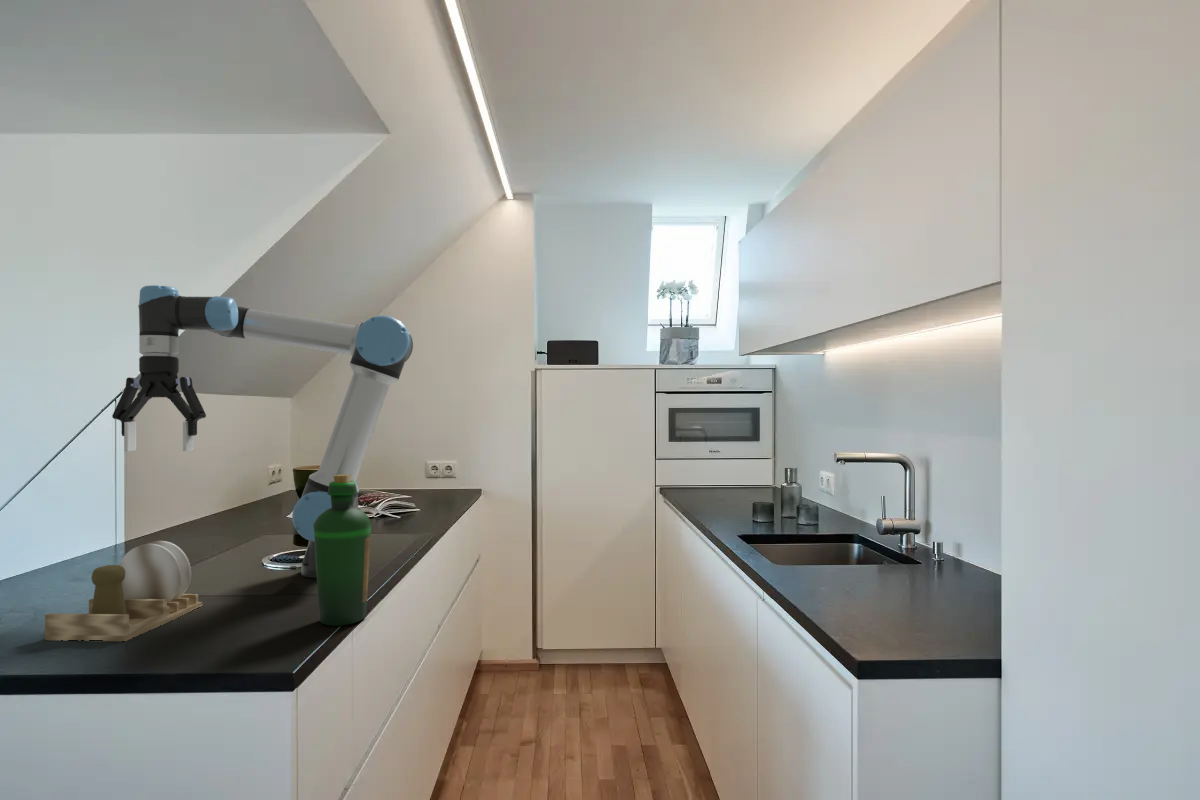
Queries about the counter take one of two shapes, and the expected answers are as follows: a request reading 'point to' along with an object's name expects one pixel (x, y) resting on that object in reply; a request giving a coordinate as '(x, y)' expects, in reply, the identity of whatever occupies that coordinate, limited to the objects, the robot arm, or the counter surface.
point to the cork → (108, 590)
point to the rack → (135, 598)
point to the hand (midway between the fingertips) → (159, 451)
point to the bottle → (342, 556)
